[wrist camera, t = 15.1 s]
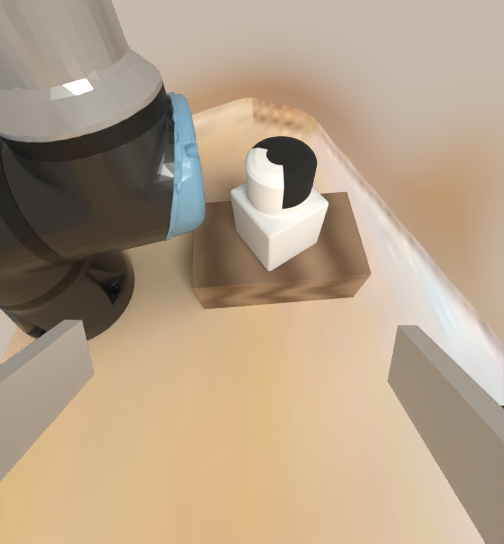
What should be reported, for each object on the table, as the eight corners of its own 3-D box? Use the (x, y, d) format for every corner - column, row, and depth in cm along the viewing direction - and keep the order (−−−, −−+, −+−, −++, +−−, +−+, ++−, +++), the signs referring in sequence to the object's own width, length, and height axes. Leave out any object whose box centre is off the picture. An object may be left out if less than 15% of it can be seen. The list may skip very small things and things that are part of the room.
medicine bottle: (282, 204, 35) (289, 115, 25) (317, 242, 33) (344, 161, 22) (235, 230, 34) (221, 147, 23) (268, 273, 31) (271, 201, 20)
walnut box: (204, 309, 37) (191, 288, 31) (204, 234, 42) (194, 204, 36) (353, 296, 37) (371, 273, 31) (334, 224, 42) (346, 191, 36)
